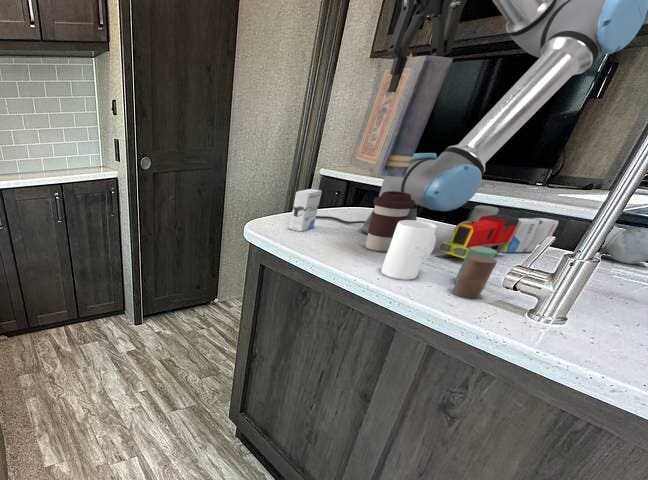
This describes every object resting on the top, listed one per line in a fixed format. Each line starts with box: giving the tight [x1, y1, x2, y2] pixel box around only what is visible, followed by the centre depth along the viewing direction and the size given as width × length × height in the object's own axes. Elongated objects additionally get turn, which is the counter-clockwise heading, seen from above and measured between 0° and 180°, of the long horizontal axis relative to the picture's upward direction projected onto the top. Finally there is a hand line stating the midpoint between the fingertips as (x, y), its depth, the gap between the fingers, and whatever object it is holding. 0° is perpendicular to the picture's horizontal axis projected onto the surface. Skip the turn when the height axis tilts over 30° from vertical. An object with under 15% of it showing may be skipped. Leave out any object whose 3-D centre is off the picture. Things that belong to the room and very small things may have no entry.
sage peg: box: [454, 246, 497, 284], centre depth 91 cm, size 5×5×8 cm
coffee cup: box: [365, 191, 415, 253], centre depth 112 cm, size 10×10×15 cm
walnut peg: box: [452, 255, 498, 299], centre depth 86 cm, size 5×5×8 cm
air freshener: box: [453, 204, 500, 233], centre depth 118 cm, size 11×8×10 cm
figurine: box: [598, 225, 648, 265], centre depth 104 cm, size 10×9×15 cm
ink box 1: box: [288, 188, 323, 232], centre depth 131 cm, size 8×5×12 cm, turn 132°
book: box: [348, 52, 454, 177], centre depth 98 cm, size 17×7×25 cm, turn 6°
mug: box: [380, 219, 438, 280], centre depth 96 cm, size 8×12×12 cm
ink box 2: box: [500, 217, 559, 254], centre depth 112 cm, size 9×5×12 cm
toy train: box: [438, 213, 519, 260], centre depth 107 cm, size 7×19×10 cm, turn 113°
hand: (406, 92), depth 95 cm, fingers closed on book, 7 cm apart
